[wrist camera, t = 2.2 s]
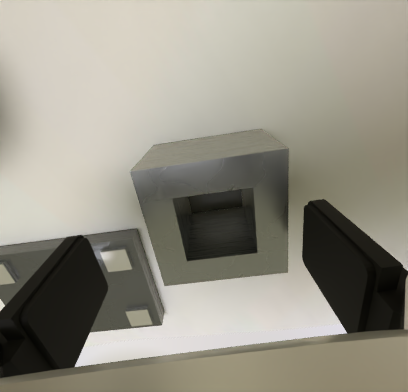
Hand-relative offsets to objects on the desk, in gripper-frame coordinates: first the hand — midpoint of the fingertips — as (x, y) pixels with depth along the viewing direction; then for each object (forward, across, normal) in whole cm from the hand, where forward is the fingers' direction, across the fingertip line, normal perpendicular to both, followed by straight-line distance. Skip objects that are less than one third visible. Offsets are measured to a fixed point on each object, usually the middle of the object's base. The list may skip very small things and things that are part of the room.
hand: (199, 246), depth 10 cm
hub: (+6, -1, 0) cm, 6 cm away
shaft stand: (+6, +11, +7) cm, 14 cm away
